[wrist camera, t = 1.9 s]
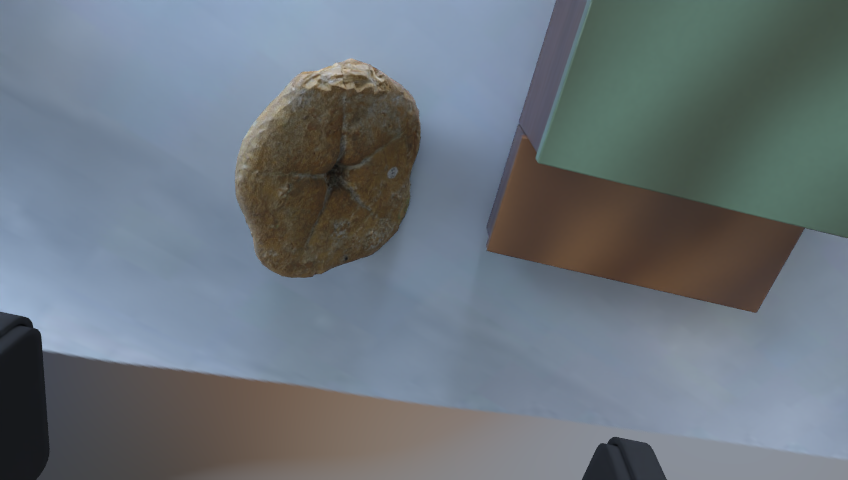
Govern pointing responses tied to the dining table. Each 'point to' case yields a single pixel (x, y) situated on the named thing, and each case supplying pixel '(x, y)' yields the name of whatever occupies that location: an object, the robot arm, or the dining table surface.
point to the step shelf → (680, 143)
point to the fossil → (328, 168)
